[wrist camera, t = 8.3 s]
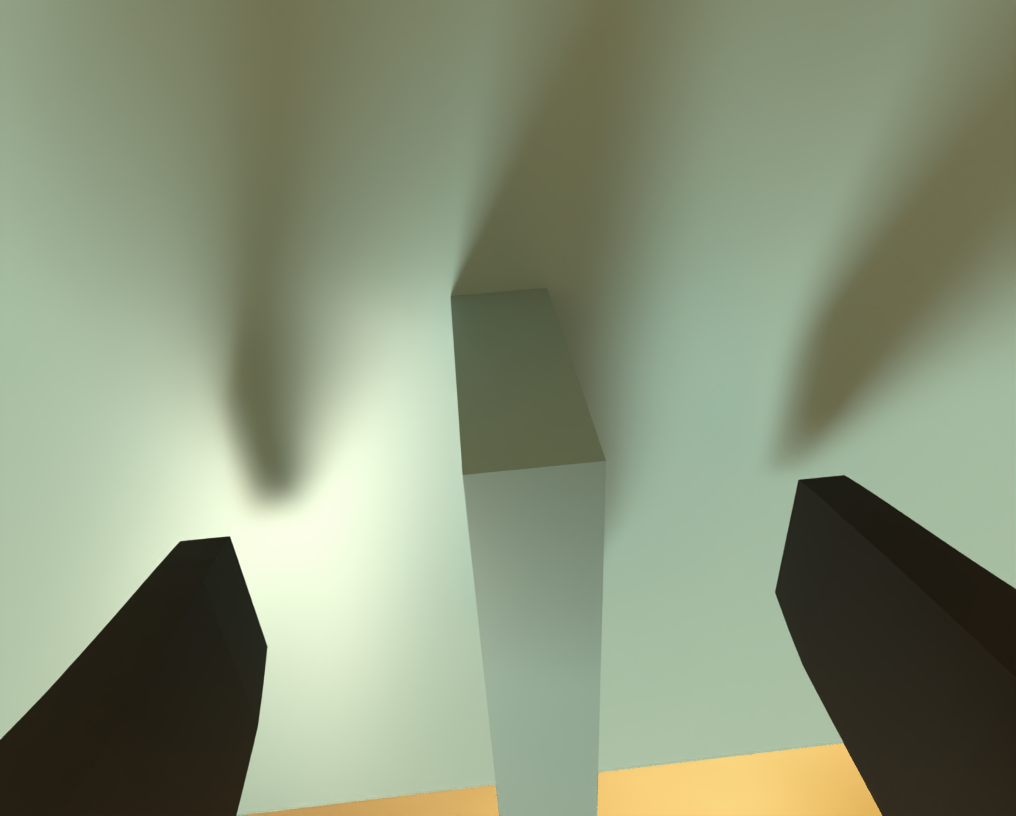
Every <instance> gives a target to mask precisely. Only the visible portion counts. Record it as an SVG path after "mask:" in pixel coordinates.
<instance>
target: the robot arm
mask: <svg viewBox="0 0 1016 816" xmlns="http://www.w3.org/2000/svg"><path fill="white" fill-rule="evenodd" d="M775 594H776V597H777V600H778V602H779V605H780V608H781V610H782V613H783V616H784V619H785V621H786V624H787V627H788V630H789V632H790V635H791V637H792V640H793V642H794V645H795V647H796V650H797V652H798V655H799V657H800V660H801V662H802V665H803V667H804V669H805V671H806V673H807V675H808V677H809V679H810V680H811V682H812V684H813V686H814V688H815V690H816V692H817V694H818V696H819V698H820V700H821V701H822V703H823V705H824V707H825V709H826V711H827V713H828V715H829V717H830V719H831V720H832V722H833V724H834V726H835V728H836V730H837V732H838V734H839V735H840V737H841V739H842V741H843V743H844V745H845V747H846V748H847V750H848V752H849V754H850V756H851V758H852V760H853V761H854V763H855V765H856V767H857V769H858V771H859V773H860V775H861V776H862V778H863V780H864V782H865V784H866V786H867V788H868V789H869V791H870V793H871V795H872V797H873V799H874V801H875V802H876V804H877V806H878V808H879V810H880V812H881V814H882V816H1016V589H1015V588H1014V587H1012V586H1011V585H1009V584H1008V583H1006V582H1005V581H1003V580H1001V579H1000V578H998V577H997V576H995V575H994V574H992V573H991V572H989V571H988V570H986V569H985V568H983V567H982V566H980V565H979V564H977V563H976V562H974V561H973V560H971V559H970V558H968V557H967V556H965V555H964V554H962V553H961V552H959V551H958V550H956V549H955V548H953V547H952V546H950V545H949V544H947V543H946V542H944V541H943V540H941V539H940V538H939V537H937V536H936V535H934V534H933V533H931V532H930V531H928V530H927V529H925V528H924V527H922V526H921V525H919V524H918V523H916V522H915V521H914V520H912V519H911V518H909V517H908V516H906V515H905V514H903V513H902V512H900V511H899V510H897V509H896V508H894V507H893V506H891V505H890V504H889V503H887V502H886V501H884V500H883V499H881V498H880V497H878V496H877V495H875V494H874V493H872V492H871V491H869V490H868V489H866V488H864V487H863V486H861V485H860V484H858V483H857V482H855V481H853V480H852V479H850V478H849V477H847V476H845V475H840V476H830V477H820V478H810V479H800V480H798V484H797V488H796V493H795V498H794V503H793V508H792V512H791V517H790V522H789V527H788V532H787V536H786V541H785V546H784V551H783V556H782V561H781V565H780V570H779V575H778V580H777V585H776V589H775ZM267 648H268V646H267V643H266V640H265V637H264V635H263V632H262V629H261V626H260V623H259V620H258V617H257V614H256V611H255V608H254V605H253V602H252V599H251V596H250V593H249V590H248V587H247V585H246V582H245V579H244V576H243V573H242V570H241V567H240V564H239V561H238V558H237V555H236V552H235V549H234V546H233V543H232V540H231V537H230V536H226V537H216V538H206V539H196V540H186V541H180V542H179V543H178V544H177V545H176V546H175V547H174V548H173V550H172V551H171V552H170V553H169V554H168V555H167V556H166V557H165V558H164V560H163V561H162V562H161V563H160V564H159V565H158V566H157V568H156V569H155V570H154V571H153V572H152V573H151V574H150V576H149V577H148V578H147V579H146V580H145V581H144V582H143V584H142V585H141V586H140V587H139V588H138V589H137V590H136V592H135V593H134V594H133V595H132V596H131V597H130V598H129V600H128V601H127V602H126V603H125V604H124V605H123V607H122V608H121V609H120V610H119V611H118V612H117V613H116V615H115V616H114V617H113V618H112V619H111V620H110V621H109V623H108V624H107V625H106V626H105V627H104V628H103V629H102V631H101V632H100V633H99V634H98V635H97V636H96V637H95V639H94V640H93V641H92V642H91V643H90V644H89V645H88V646H87V647H86V649H85V650H84V651H83V652H82V653H81V654H80V655H79V656H78V657H77V658H76V660H75V661H74V662H73V663H72V664H71V665H70V666H69V667H68V668H67V670H66V671H65V672H64V673H63V674H62V675H61V676H60V677H59V678H58V680H57V681H56V682H55V683H54V684H53V685H52V686H51V687H50V688H49V690H48V691H47V692H46V693H45V694H44V695H43V696H42V697H41V698H40V699H39V700H38V701H37V702H36V703H35V704H34V705H33V706H32V707H31V708H30V709H29V710H28V711H27V713H26V714H25V715H24V716H23V717H22V718H21V719H20V720H19V721H18V722H17V723H16V724H15V725H14V726H13V727H12V728H11V729H10V730H9V731H8V732H7V733H6V734H5V735H4V736H3V737H2V738H1V739H0V816H237V812H238V808H239V804H240V800H241V796H242V791H243V787H244V783H245V779H246V775H247V771H248V767H249V762H250V758H251V754H252V750H253V746H254V741H255V737H256V733H257V729H258V723H259V716H260V708H261V700H262V693H263V685H264V675H265V666H266V657H267Z"/></svg>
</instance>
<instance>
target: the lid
mask: <svg viewBox="0 0 1016 816" xmlns="http://www.w3.org/2000/svg"><path fill="white" fill-rule="evenodd" d="M840 475H845V476H847V477H849V478H850V479H852V480H853V481H855V482H857V483H858V484H860V485H861V486H863V487H864V488H866V489H868V490H869V491H871V492H872V493H874V494H875V495H877V496H878V497H880V498H881V499H883V500H884V501H886V502H887V503H889V504H890V505H891V506H893V507H894V508H896V509H897V510H899V511H900V512H902V513H903V514H905V515H906V516H908V517H909V518H911V519H912V520H914V521H915V522H916V523H918V524H919V525H921V526H922V527H924V528H925V529H927V530H928V531H930V532H931V533H933V534H934V535H936V536H937V537H939V538H940V539H941V540H943V541H944V542H946V543H947V544H949V545H950V546H952V547H953V548H955V549H956V550H958V551H959V552H961V553H962V554H964V555H965V556H967V557H968V558H970V559H971V560H973V561H974V562H976V563H977V564H979V565H980V566H982V567H983V568H985V569H986V570H988V571H989V572H991V573H992V574H994V575H995V576H997V577H998V578H1000V579H1001V580H1003V581H1005V582H1006V583H1008V584H1009V585H1011V586H1012V587H1014V588H1015V589H1016V0H0V739H1V738H2V737H3V736H4V735H5V734H6V733H7V732H8V731H9V730H10V729H11V728H12V727H13V726H14V725H15V724H16V723H17V722H18V721H19V720H20V719H21V718H22V717H23V716H24V715H25V714H26V713H27V711H28V710H29V709H30V708H31V707H32V706H33V705H34V704H35V703H36V702H37V701H38V700H39V699H40V698H41V697H42V696H43V695H44V694H45V693H46V692H47V691H48V690H49V688H50V687H51V686H52V685H53V684H54V683H55V682H56V681H57V680H58V678H59V677H60V676H61V675H62V674H63V673H64V672H65V671H66V670H67V668H68V667H69V666H70V665H71V664H72V663H73V662H74V661H75V660H76V658H77V657H78V656H79V655H80V654H81V653H82V652H83V651H84V650H85V649H86V647H87V646H88V645H89V644H90V643H91V642H92V641H93V640H94V639H95V637H96V636H97V635H98V634H99V633H100V632H101V631H102V629H103V628H104V627H105V626H106V625H107V624H108V623H109V621H110V620H111V619H112V618H113V617H114V616H115V615H116V613H117V612H118V611H119V610H120V609H121V608H122V607H123V605H124V604H125V603H126V602H127V601H128V600H129V598H130V597H131V596H132V595H133V594H134V593H135V592H136V590H137V589H138V588H139V587H140V586H141V585H142V584H143V582H144V581H145V580H146V579H147V578H148V577H149V576H150V574H151V573H152V572H153V571H154V570H155V569H156V568H157V566H158V565H159V564H160V563H161V562H162V561H163V560H164V558H165V557H166V556H167V555H168V554H169V553H170V552H171V551H172V550H173V548H174V547H175V546H176V545H177V544H178V543H179V542H180V541H186V540H196V539H206V538H216V537H226V536H230V537H231V540H232V543H233V546H234V549H235V552H236V555H237V558H238V561H239V564H240V567H241V570H242V573H243V576H244V579H245V582H246V585H247V587H248V590H249V593H250V596H251V599H252V602H253V605H254V608H255V611H256V614H257V617H258V620H259V623H260V626H261V629H262V632H263V635H264V637H265V640H266V643H267V646H268V648H267V657H266V666H265V675H264V685H263V693H262V700H261V708H260V716H259V723H258V729H257V733H256V737H255V741H254V746H253V750H252V754H251V758H250V762H249V767H248V771H247V775H246V779H245V783H244V787H243V791H242V796H241V800H240V804H239V808H238V812H237V816H239V815H248V814H256V813H264V812H273V811H281V810H289V809H298V808H306V807H314V806H323V805H331V804H339V803H348V802H356V801H364V800H373V799H381V798H389V797H398V796H406V795H414V794H423V793H431V792H439V791H448V790H456V789H464V788H473V787H481V786H489V785H496V790H497V799H498V809H499V816H597V801H598V772H606V771H614V770H622V769H631V768H639V767H647V766H656V765H664V764H672V763H681V762H689V761H697V760H706V759H714V758H722V757H731V756H739V755H747V754H756V753H764V752H772V751H781V750H789V749H797V748H806V747H814V746H822V745H831V744H839V743H843V741H842V739H841V737H840V735H839V734H838V732H837V730H836V728H835V726H834V724H833V722H832V720H831V719H830V717H829V715H828V713H827V711H826V709H825V707H824V705H823V703H822V701H821V700H820V698H819V696H818V694H817V692H816V690H815V688H814V686H813V684H812V682H811V680H810V679H809V677H808V675H807V673H806V671H805V669H804V667H803V665H802V662H801V660H800V657H799V655H798V652H797V650H796V647H795V645H794V642H793V640H792V637H791V635H790V632H789V630H788V627H787V624H786V621H785V619H784V616H783V613H782V610H781V608H780V605H779V602H778V600H777V597H776V594H775V589H776V585H777V580H778V575H779V570H780V565H781V561H782V556H783V551H784V546H785V541H786V536H787V532H788V527H789V522H790V517H791V512H792V508H793V503H794V498H795V493H796V488H797V484H798V480H800V479H810V478H820V477H830V476H840Z"/></svg>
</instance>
